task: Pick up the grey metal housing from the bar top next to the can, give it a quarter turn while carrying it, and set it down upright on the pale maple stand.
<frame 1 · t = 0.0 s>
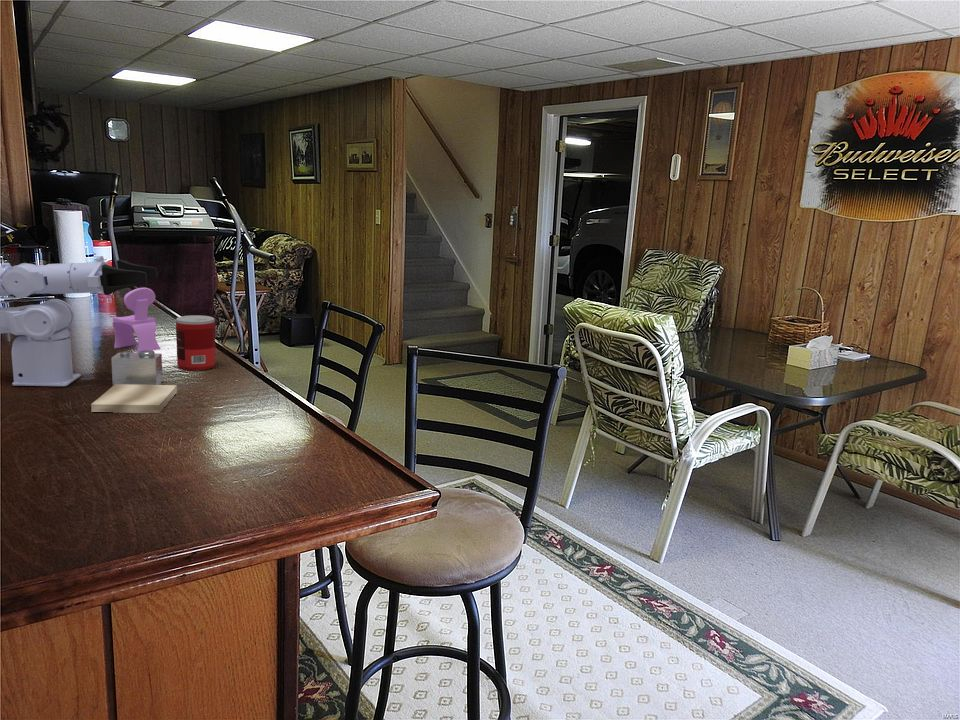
hand: (151, 275, 135), 22 cm above the table, tool horizontal, fingers open, 7 cm apart
canned food: (196, 368, 154), on the table
toy chair: (136, 349, 167), on the table
housing: (138, 384, 138), on the table
stand: (136, 402, 127), on the table
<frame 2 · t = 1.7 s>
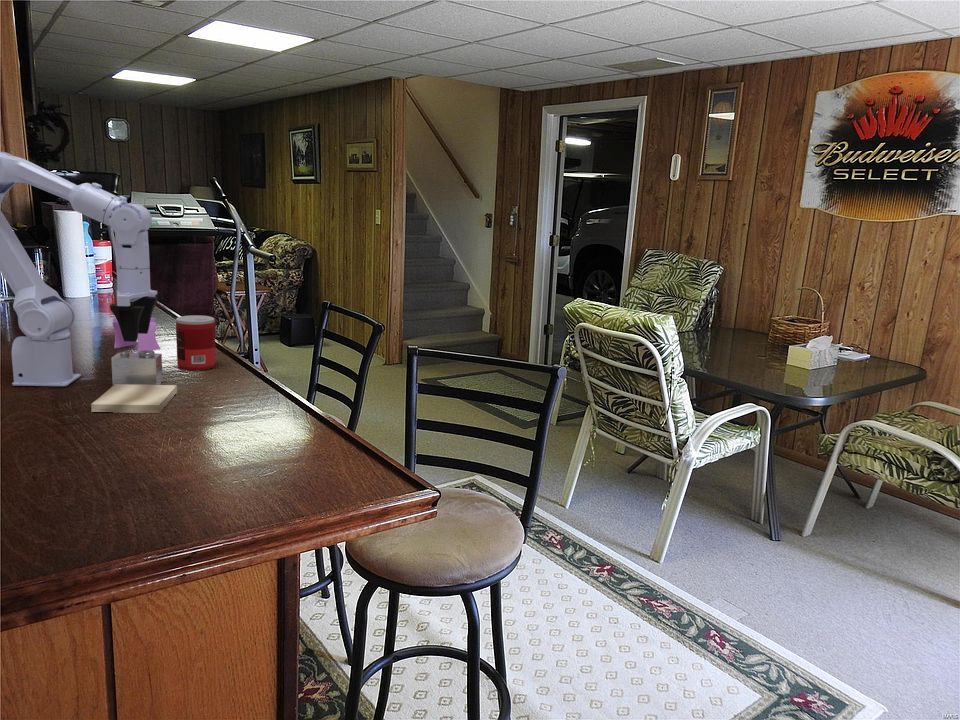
hand: (136, 337, 136), 10 cm above the table, tool pointing down, fingers open, 7 cm apart
nothing on the table moved.
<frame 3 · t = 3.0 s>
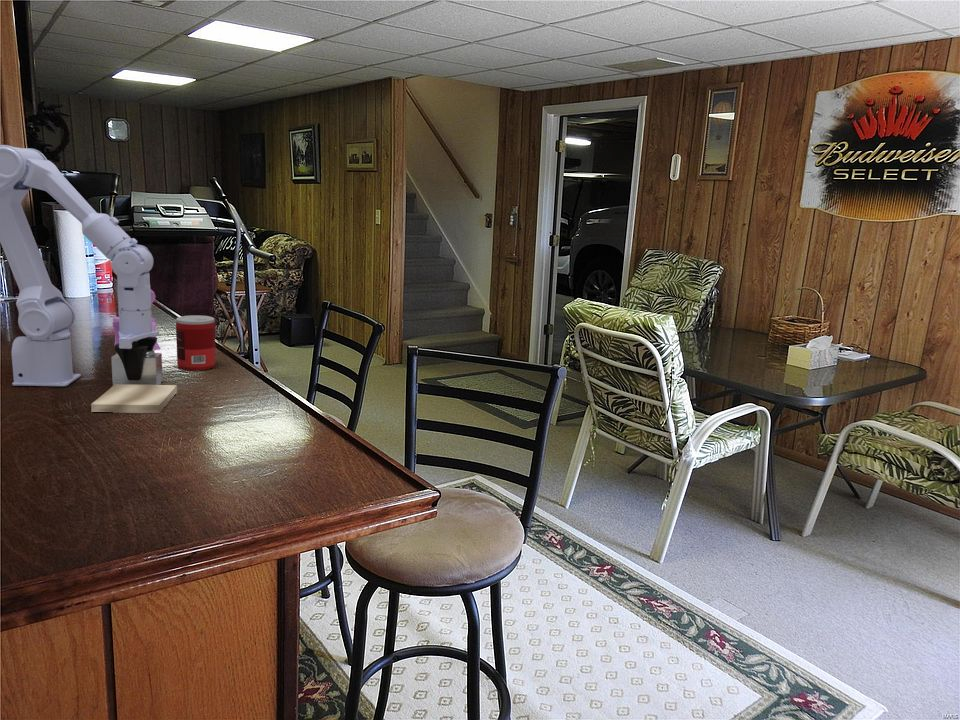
hand: (137, 376, 138), 2 cm above the table, tool pointing down, fingers closed on housing, 4 cm apart
housing: (138, 384, 138), on the table, touching gripper
everything else where it was.
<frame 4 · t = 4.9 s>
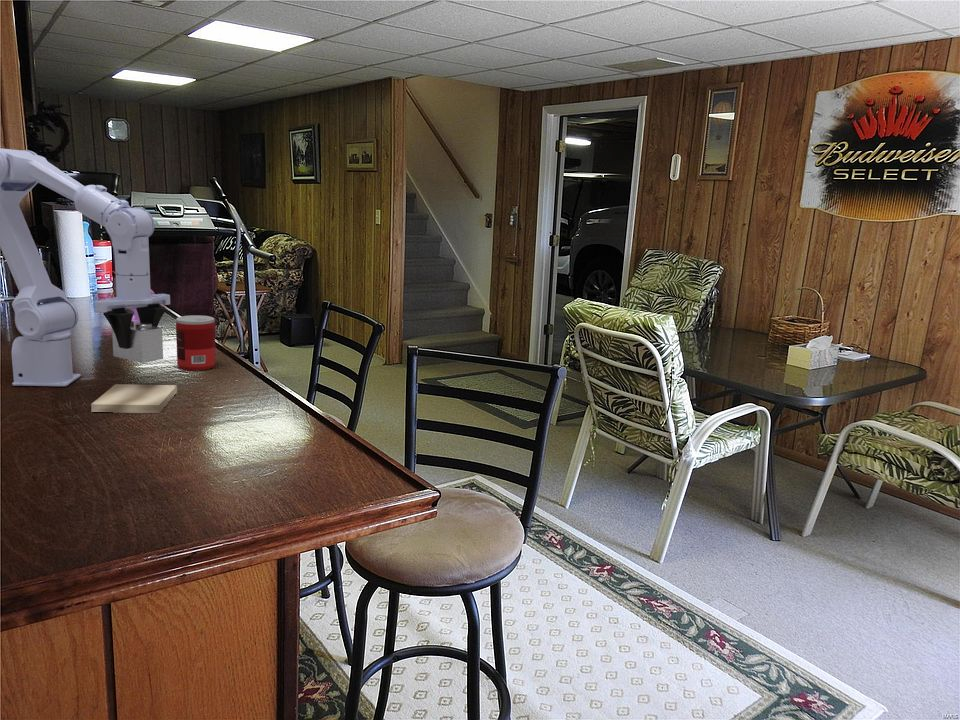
hand: (136, 345, 132), 9 cm above the table, tool pointing down, fingers closed on housing, 4 cm apart
housing: (138, 357, 132), point 7 cm above the table, touching gripper
everything else where it was.
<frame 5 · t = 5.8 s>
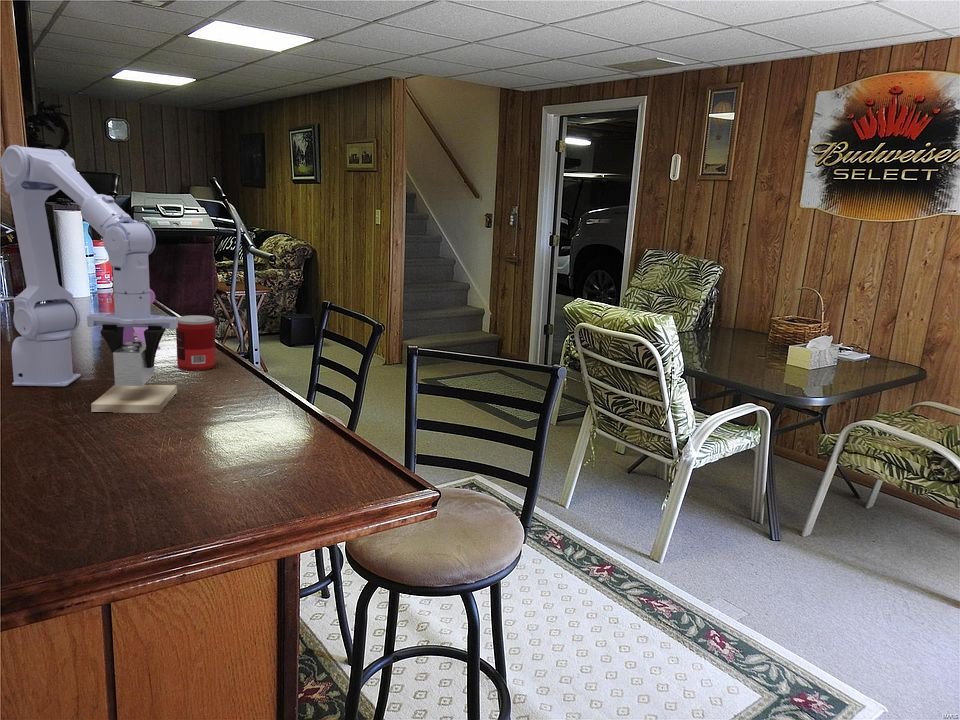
hand: (135, 366, 126), 7 cm above the table, tool pointing down, fingers closed on housing, 4 cm apart
housing: (135, 379, 126), point 4 cm above the table, touching gripper
everything else where it was.
when the fingers open (4 cm above the table, at t = 6.7 s): housing stays where it is, resting on stand.
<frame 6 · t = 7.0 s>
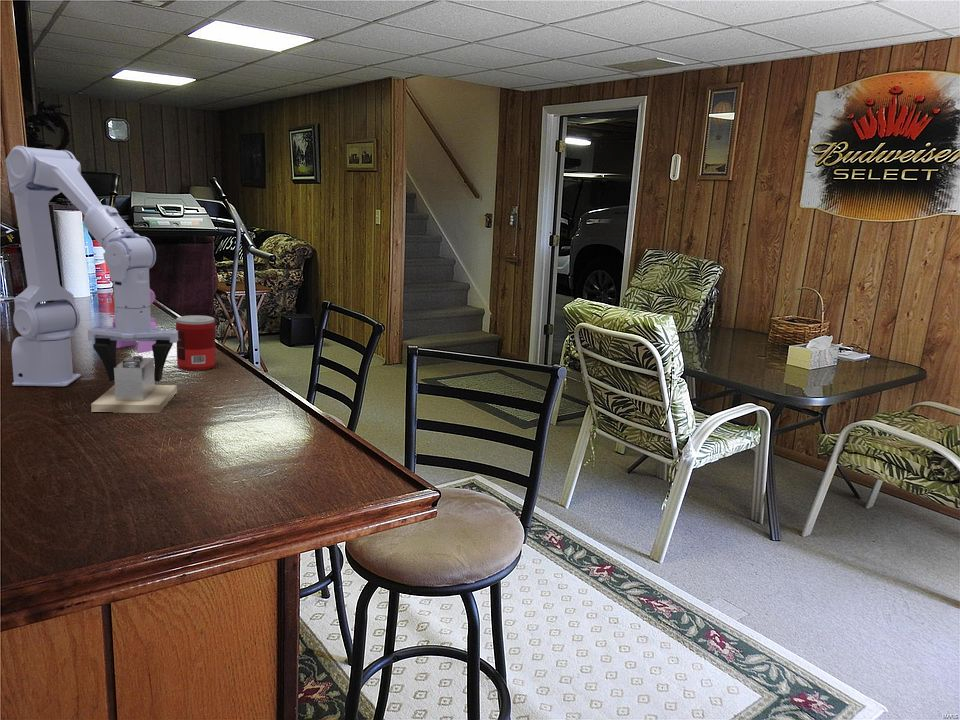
hand: (135, 379, 126), 4 cm above the table, tool pointing down, fingers open, 7 cm apart
housing: (135, 394, 127), point 1 cm above the table, touching stand
everything else where it was.
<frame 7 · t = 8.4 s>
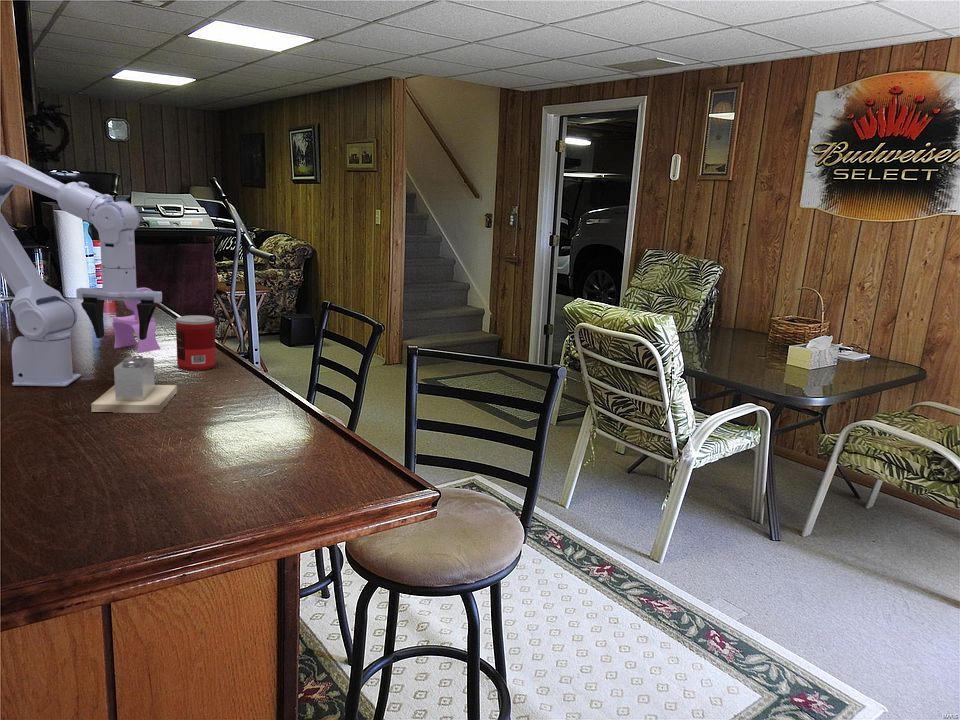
hand: (121, 338, 133), 10 cm above the table, tool pointing down, fingers open, 7 cm apart
nothing on the table moved.
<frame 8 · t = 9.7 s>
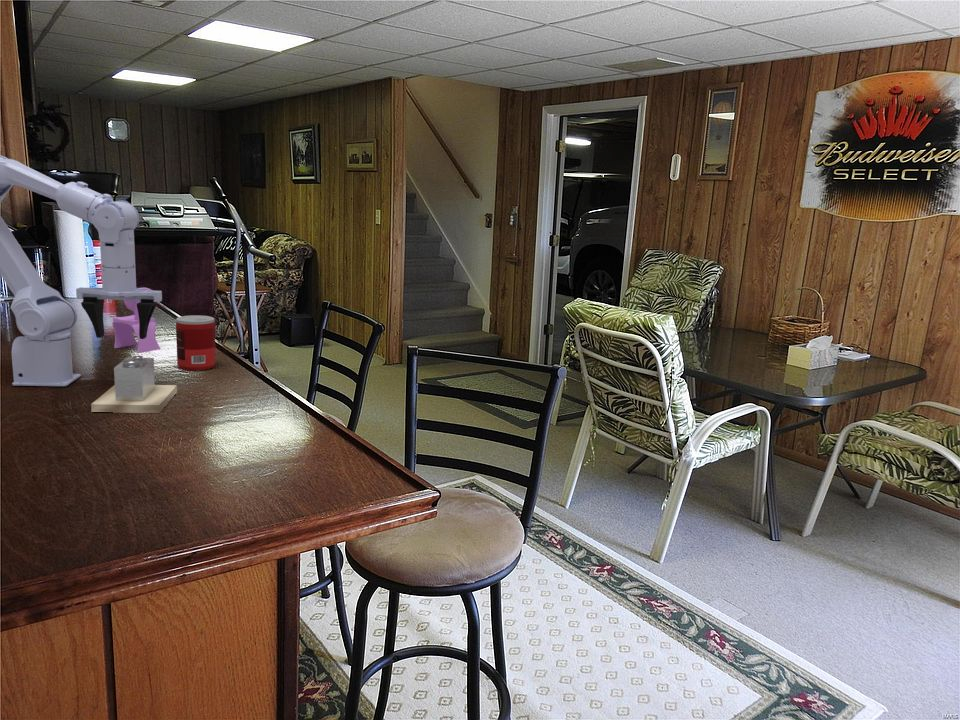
hand: (121, 337, 134), 10 cm above the table, tool pointing down, fingers open, 7 cm apart
nothing on the table moved.
at the end: housing inside the target area on the stand (0.3 cm from its centre), point 1.5 cm above the stand's base; housing tilted 0°; the gripper is holding nothing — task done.
